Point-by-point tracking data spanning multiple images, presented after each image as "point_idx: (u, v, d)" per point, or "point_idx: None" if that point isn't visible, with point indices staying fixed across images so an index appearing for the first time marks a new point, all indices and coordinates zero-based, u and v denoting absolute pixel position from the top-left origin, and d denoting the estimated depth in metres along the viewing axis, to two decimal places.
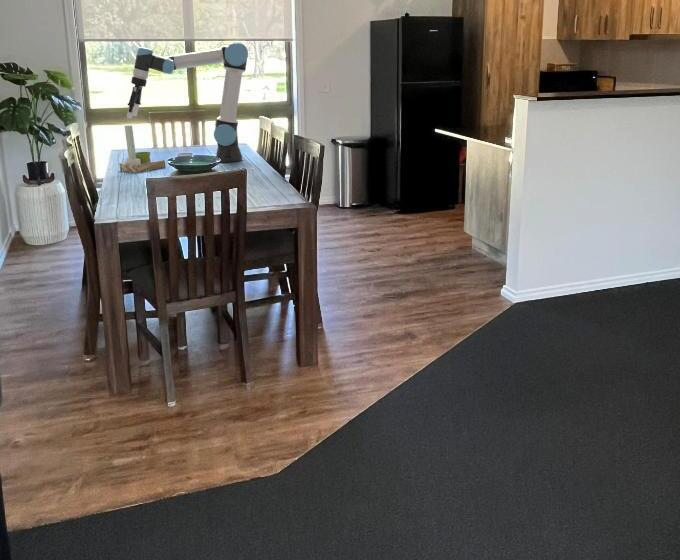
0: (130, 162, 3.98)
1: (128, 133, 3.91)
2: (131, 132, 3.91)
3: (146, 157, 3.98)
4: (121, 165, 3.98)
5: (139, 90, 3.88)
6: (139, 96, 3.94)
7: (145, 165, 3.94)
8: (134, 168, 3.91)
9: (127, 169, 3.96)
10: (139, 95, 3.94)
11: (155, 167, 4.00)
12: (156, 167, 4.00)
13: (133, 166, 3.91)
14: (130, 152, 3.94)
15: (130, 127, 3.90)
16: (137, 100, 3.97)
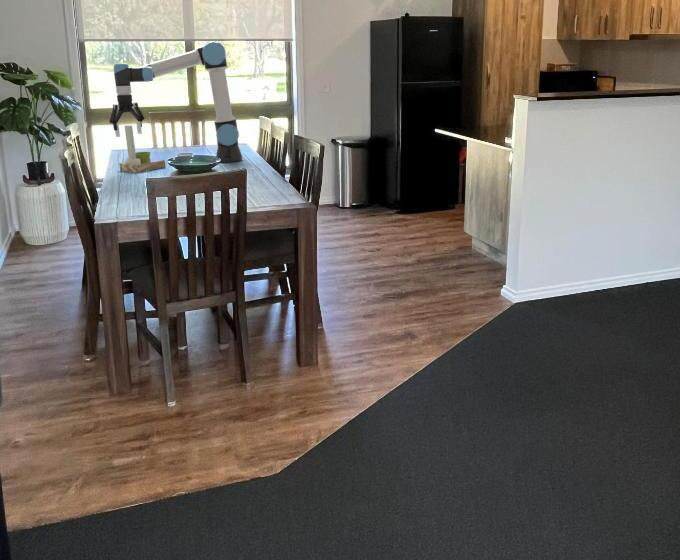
0: (130, 162, 3.98)
1: (128, 133, 3.91)
2: (131, 132, 3.91)
3: (146, 157, 3.98)
4: (121, 165, 3.98)
5: (124, 106, 3.85)
6: (133, 113, 3.91)
7: (145, 165, 3.94)
8: (134, 168, 3.91)
9: (127, 169, 3.96)
10: (132, 112, 3.90)
11: (155, 167, 4.00)
12: (156, 167, 4.00)
13: (133, 166, 3.91)
14: (130, 152, 3.94)
15: (130, 127, 3.90)
16: (136, 117, 3.94)
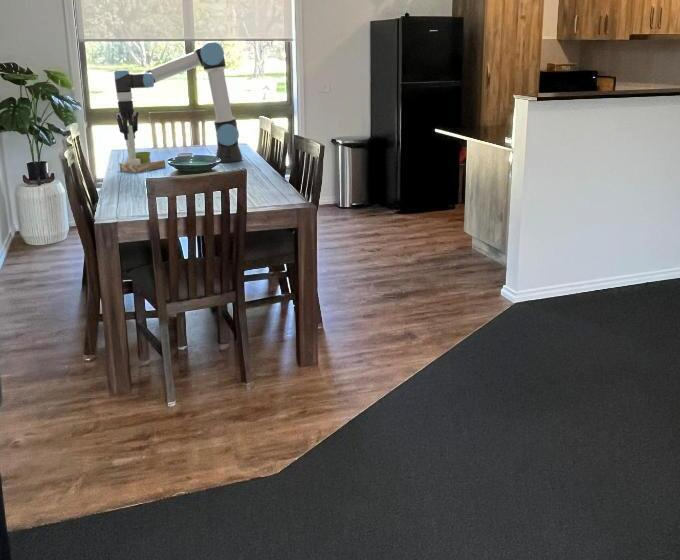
0: (130, 162, 3.98)
1: (128, 133, 3.91)
2: (131, 132, 3.91)
3: (146, 157, 3.98)
4: (121, 165, 3.98)
5: (125, 113, 3.87)
6: (131, 121, 3.90)
7: (145, 165, 3.94)
8: (134, 168, 3.91)
9: (127, 169, 3.96)
10: (130, 119, 3.90)
11: (155, 167, 4.00)
12: (156, 167, 4.00)
13: (133, 166, 3.91)
14: (130, 152, 3.94)
15: (130, 127, 3.90)
16: None
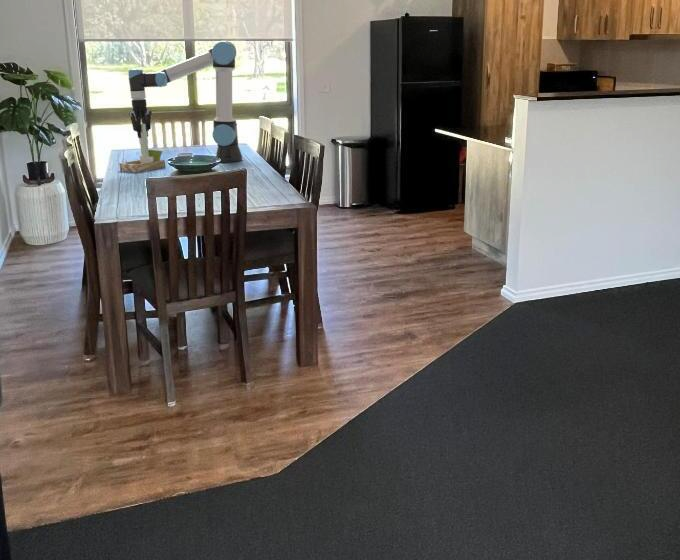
0: (143, 160, 4.04)
1: (141, 131, 3.97)
2: (144, 130, 3.97)
3: (157, 154, 4.03)
4: (121, 165, 3.98)
5: (138, 112, 3.93)
6: (144, 119, 3.96)
7: (145, 165, 3.94)
8: (134, 168, 3.91)
9: (127, 169, 3.96)
10: (143, 117, 3.96)
11: (155, 167, 4.00)
12: (156, 167, 4.00)
13: (133, 166, 3.91)
14: (143, 150, 4.00)
15: (143, 125, 3.96)
16: None
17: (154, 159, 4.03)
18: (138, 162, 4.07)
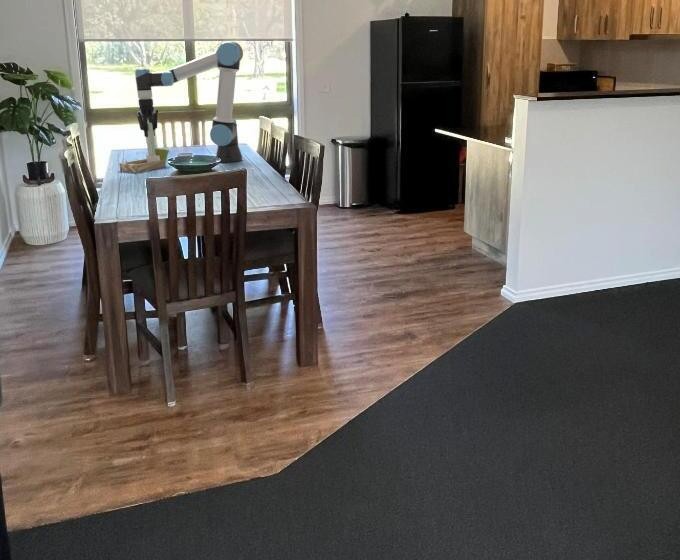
0: (150, 158, 4.07)
1: (148, 130, 4.00)
2: (151, 129, 4.00)
3: (163, 153, 4.06)
4: (121, 165, 3.98)
5: (145, 111, 3.96)
6: (151, 118, 3.99)
7: (145, 165, 3.94)
8: (134, 168, 3.91)
9: (127, 169, 3.96)
10: (150, 116, 3.99)
11: (155, 167, 4.00)
12: (156, 167, 4.00)
13: (133, 166, 3.91)
14: (150, 149, 4.03)
15: (150, 124, 3.99)
16: None
17: (160, 158, 4.06)
18: (138, 162, 4.07)
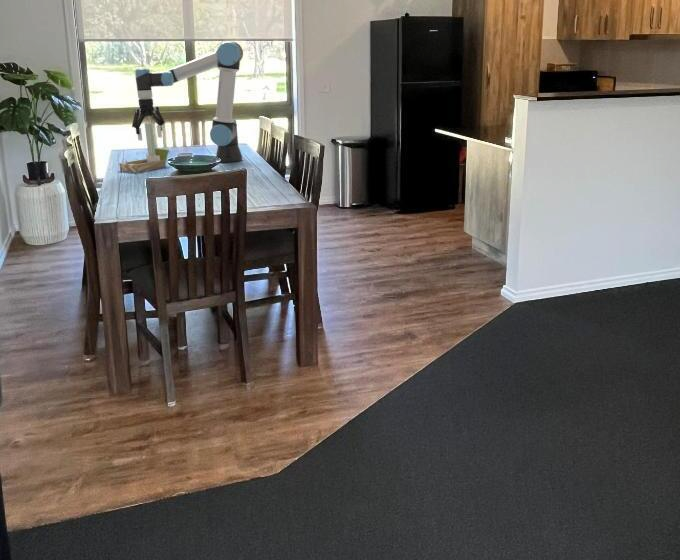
0: (150, 158, 4.07)
1: (148, 130, 4.00)
2: (151, 129, 4.00)
3: (163, 153, 4.06)
4: (121, 165, 3.98)
5: (145, 110, 3.96)
6: (154, 116, 4.01)
7: (145, 165, 3.94)
8: (134, 168, 3.91)
9: (127, 169, 3.96)
10: (153, 115, 4.00)
11: (155, 167, 4.00)
12: (156, 167, 4.00)
13: (133, 166, 3.91)
14: (150, 149, 4.03)
15: (150, 124, 3.99)
16: (156, 121, 4.04)
17: (160, 158, 4.06)
18: (138, 162, 4.07)
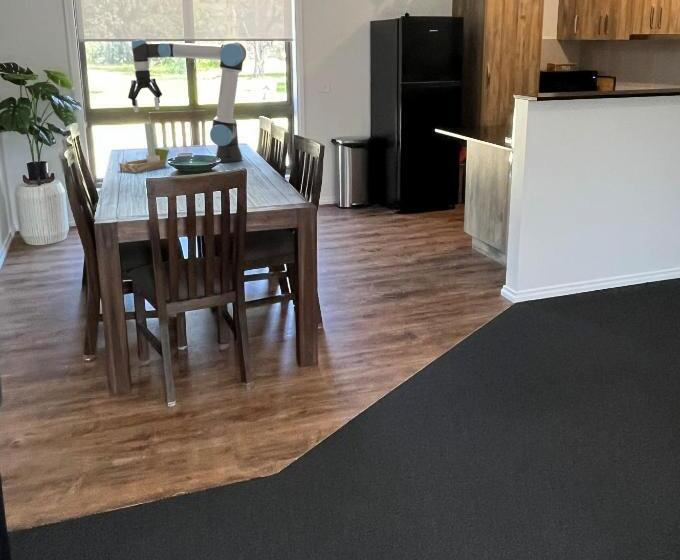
0: (150, 158, 4.07)
1: (148, 130, 4.00)
2: (151, 129, 4.00)
3: (163, 153, 4.06)
4: (121, 165, 3.98)
5: (142, 82, 3.91)
6: (151, 88, 3.96)
7: (145, 165, 3.94)
8: (134, 168, 3.91)
9: (127, 169, 3.96)
10: (150, 87, 3.96)
11: (155, 167, 4.00)
12: (156, 167, 4.00)
13: (133, 166, 3.91)
14: (150, 149, 4.03)
15: (150, 124, 3.99)
16: (154, 93, 3.99)
17: (160, 158, 4.06)
18: (138, 162, 4.07)
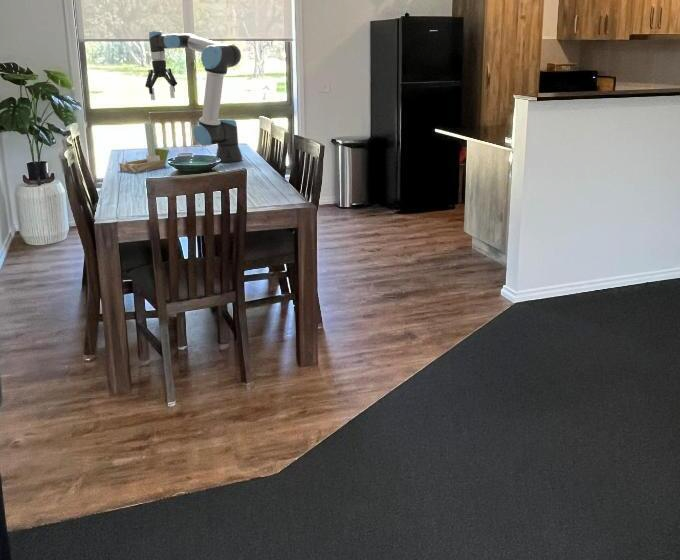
0: (150, 158, 4.07)
1: (148, 130, 4.00)
2: (151, 129, 4.00)
3: (163, 153, 4.06)
4: (121, 165, 3.98)
5: (158, 71, 4.12)
6: (167, 78, 4.18)
7: (145, 165, 3.94)
8: (134, 168, 3.91)
9: (127, 169, 3.96)
10: (166, 77, 4.17)
11: (155, 167, 4.00)
12: (156, 167, 4.00)
13: (133, 166, 3.91)
14: (150, 149, 4.03)
15: (150, 124, 3.99)
16: (169, 82, 4.20)
17: (160, 158, 4.06)
18: (138, 162, 4.07)
